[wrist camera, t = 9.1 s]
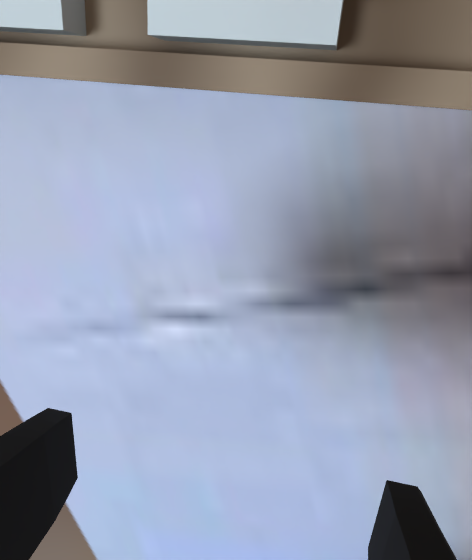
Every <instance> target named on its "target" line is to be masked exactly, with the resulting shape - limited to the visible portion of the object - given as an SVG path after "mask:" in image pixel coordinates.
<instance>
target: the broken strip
mask: <svg viewBox="0 0 472 560" xmlns="http://www.w3.org/2000/svg"><path fill="white" fill-rule="evenodd" d="M343 2H344V0H147V14H148V35H150V36H153V37H156V38H158V39H161V40H164V41H181V42H198V43H216V44H233V45H251V46H268V47H286V48H303V49H321V50H337V44H338V37H339V30H340V23H341V16H342V9H343ZM0 31H6V32H23V33H41V34H58V35H76V36H86V18H85V0H0Z"/></svg>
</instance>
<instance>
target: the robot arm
mask: <svg viewBox="0 0 472 560" xmlns="http://www.w3.org/2000/svg"><path fill="white" fill-rule="evenodd" d="M77 478H78V477H77V467H76V456H75V446H74V435H73V425H72V414H71V413H69V412H64V411H59V410H55V409H50V408H47V409H46V410H44V411H42V412H40V413H38V414H37V415H35V416H33V417H32V418H30V419H28V420H26V421H25V422H23V423H21V424H20V425H18V426H16V427H15V428H13V429H11V430H10V431H8V432H6V433H5V434H3V435H2V436H0V560H29V559H30V557H31V556H32V554H33V553H34V551H35V550H36V548H37V547H38V545H39V544H40V542H41V540H42V539H43V538H44V536H45V535H46V534H47V532H48V530H49V529H50V527H51V526H52V524H53V523H54V521H55V520H56V518H57V516H58V514H59V512H60V510H61V508H62V507H63V505H64V503H65V501H66V499H67V498H68V496H69V494H70V492H71V490H72V488H73V486H74V484H75V482H76V480H77ZM368 560H457V559H456V557H455V555H454V554H453V552H452V550H451V548H450V546H449V544H448V543H447V541H446V539H445V537H444V535H443V533H442V531H441V530H440V528H439V526H438V524H437V522H436V520H435V518H434V516H433V514H432V512H431V510H430V508H429V506H428V504H427V502H426V500H425V498H424V496H423V494H422V492H421V491H420V490H419V488H418V487H416V486H412V485H407V484H402V483H398V482H393V481H388V480H387V481H386V484H385V488H384V492H383V495H382V499H381V503H380V506H379V510H378V514H377V517H376V521H375V524H374V528H373V532H372V535H371V539H370V543H369V546H368Z"/></svg>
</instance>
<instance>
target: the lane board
mask: <svg viewBox="0 0 472 560" xmlns="http://www.w3.org/2000/svg"><path fill="white" fill-rule="evenodd" d="M85 18H86V36H76V35H58V34H41V33H23V32H6V31H0V74H1V75H14V76H28V77H41V78H54V79H67V80H80V81H93V82H106V83H120V84H133V85H146V86H159V87H172V88H185V89H199V90H212V91H225V92H238V93H251V94H264V95H278V96H291V97H304V98H317V99H330V100H343V101H356V102H370V103H383V104H396V105H409V106H422V107H435V108H449V109H462V110H472V0H344V2H343V9H342V16H341V23H340V30H339V37H338V44H337V50H321V49H303V48H286V47H268V46H251V45H233V44H216V43H198V42H181V41H164V40H161V39H158V38H156V37H153V36H150V35H148V14H147V0H85Z"/></svg>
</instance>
